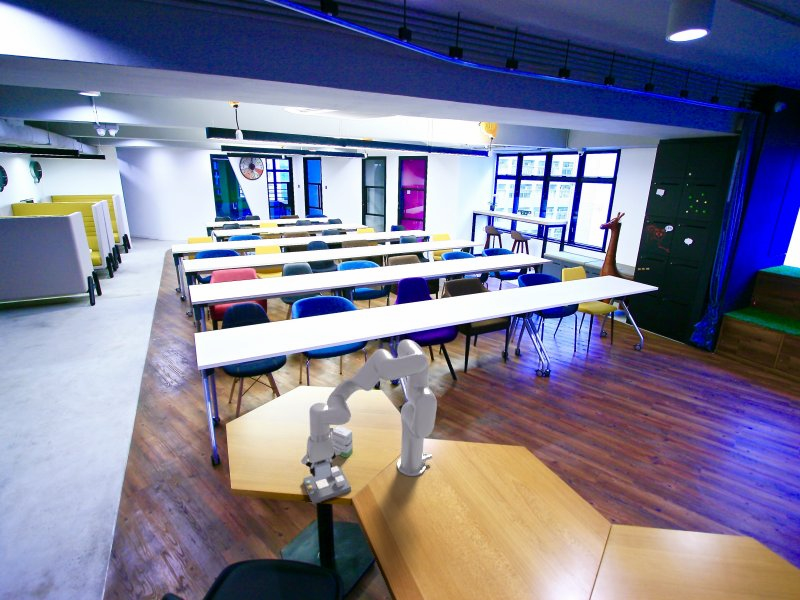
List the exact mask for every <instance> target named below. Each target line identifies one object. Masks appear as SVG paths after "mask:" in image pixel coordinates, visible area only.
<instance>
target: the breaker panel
mask: <svg viewBox="0 0 800 600" xmlns="http://www.w3.org/2000/svg"><path fill="white" fill-rule="evenodd" d="M323 479H325V478H323ZM320 480H322V479H320ZM326 480H327V482H328V484H329V487H326V488H323V489H320V490H318V489H317V487H316V484H315V482H316V479H315V477H313V475H312V474H311V475H310V476H305V477H303V480H302V481H303V484H304V486H305V489H306V492H307V493H308V497H309V499H310V502H311V501H312V502H311V504H312V505H315V504H319V503H321V502H323V501H326V500H328V499H332V498H334V497H336V496H340V495H343V494H346V493H349V492H351V491H352V485H351V483H350V482H349V480H348V479H347V476H346V475H345V473H344V471H343V469H342V468H341V466H338V465H335V466H332V468H331V476H329V477H326ZM317 481H319V480H317Z"/></svg>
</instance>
